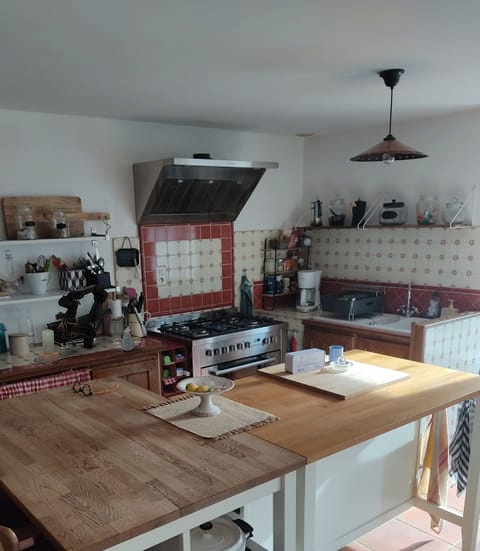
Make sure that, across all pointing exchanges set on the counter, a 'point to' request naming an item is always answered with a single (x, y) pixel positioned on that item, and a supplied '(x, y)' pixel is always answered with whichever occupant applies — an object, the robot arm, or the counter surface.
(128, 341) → the toy figure
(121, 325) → the coffee box
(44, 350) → the column brick
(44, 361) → the tower base
